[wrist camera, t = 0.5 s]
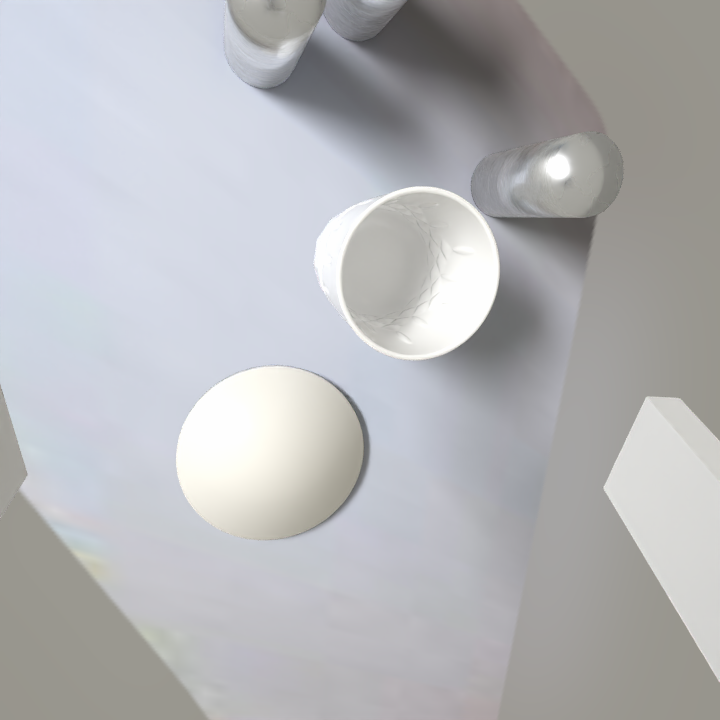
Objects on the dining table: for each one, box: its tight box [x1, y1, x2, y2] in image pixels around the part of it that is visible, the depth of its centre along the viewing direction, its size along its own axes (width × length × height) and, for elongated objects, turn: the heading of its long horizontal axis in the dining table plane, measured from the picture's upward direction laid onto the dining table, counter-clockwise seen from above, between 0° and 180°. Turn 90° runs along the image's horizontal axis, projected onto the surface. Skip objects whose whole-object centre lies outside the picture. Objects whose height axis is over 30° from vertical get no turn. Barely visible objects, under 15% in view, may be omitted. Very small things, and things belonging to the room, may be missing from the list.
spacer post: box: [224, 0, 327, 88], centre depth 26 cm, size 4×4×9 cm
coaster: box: [176, 365, 364, 540], centre depth 36 cm, size 12×12×1 cm
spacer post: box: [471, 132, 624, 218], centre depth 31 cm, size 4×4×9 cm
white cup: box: [313, 186, 500, 360], centre depth 30 cm, size 8×8×10 cm
